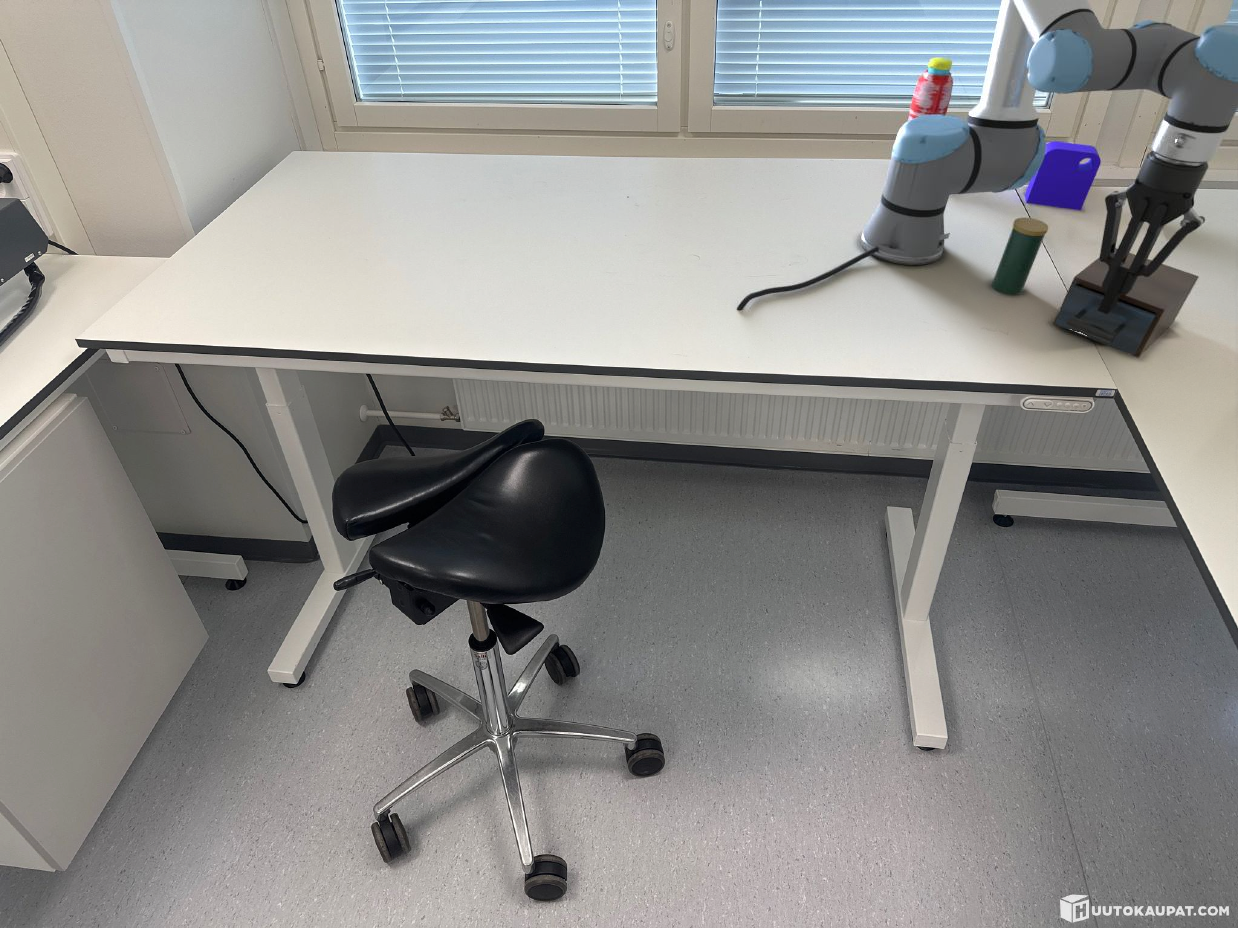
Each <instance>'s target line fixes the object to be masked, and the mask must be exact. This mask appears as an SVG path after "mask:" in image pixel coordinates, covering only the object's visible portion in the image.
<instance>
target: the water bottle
mask: <svg viewBox="0 0 1238 928" xmlns="http://www.w3.org/2000/svg"><path fill="white" fill-rule="evenodd" d="M952 66H953V61H952V60H951V59H948V58H945V57H933V58H930V60H929V62H928V63H927V67H928V69H925V70H924V72H923V73H922V74H921V75H920V77H918V79H917V82H916V85H915V88H914V91H913V95H912V100H911V103H910V108H909V113H908V114H909V115H908V120H907V122H908V121H909V120H911V119H914V118H916V117H920V116H925V115H937V114H940V115H942V116H946V115H947V112H948V110H949V109H948V108H949V106H950V102H951V98H952V93H953V87H954V79H953V76H952V72H950V71H951V69H952Z"/></svg>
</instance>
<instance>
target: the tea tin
mask: <svg viewBox="0 0 1238 928" xmlns="http://www.w3.org/2000/svg"><path fill="white" fill-rule="evenodd" d="M1048 231H1049V225H1048V224H1047V223H1046V222H1045V221H1042V220H1040V219H1037V218H1032V217H1017V218H1015V219H1014V221H1013V223H1012V229H1011V231H1010V234H1009V237H1008V239H1007V242H1006V244H1005V247H1004V250H1003V253H1002V256H1001V258H1000V261H999V262H998V266H997V269H996V272H995V273H994V277H993V279H992V283H991V287H992V289H994V290H995V291H996V292H998V293H1000V294H1003V295H1009V296H1015V295H1020V294H1021V293H1022V292H1023V290H1024V287H1025V285H1026V282H1027V280H1028V278H1029V275H1030V273H1031V271H1032V268H1033V265H1034V263H1035V260H1036V257H1037V255H1038V253H1039V250H1040V248H1041V245H1042V243H1043V241H1044V238H1045V235H1046V234H1047V233H1048Z"/></svg>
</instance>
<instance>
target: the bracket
mask: <svg viewBox="0 0 1238 928" xmlns="http://www.w3.org/2000/svg"><path fill="white" fill-rule="evenodd" d="M1086 159H1089V160H1088V161H1086V162H1084V163H1081V162H1082V161H1083V160H1086ZM1101 163H1102V160H1101V156H1100V154H1099V152H1098V150H1097V148H1096V147H1095V146H1093V145H1090V144H1081V143H1073V142H1064V141H1055V140H1054V141H1049V142H1048V143H1047V142H1046V152H1045V156H1044V159H1043V162H1042V164H1041V166H1040V168H1039V170H1038V171H1037V173H1036V174H1035V176H1034V177H1033V178H1032V179H1031V180H1030V181H1029V182H1028V184H1027V187H1026V191H1025V193H1024V200H1025V203H1026V204H1030V205H1038V206H1045V207H1053V208H1058V209H1059V208H1060V209H1067V210H1073V211H1082V209H1083V206H1084V204H1085V201H1086V200H1087V197H1088V195H1089V192H1090V190H1091V187H1092V186H1093V183H1094V180H1095V178H1096V177H1097V174H1098V171H1099V169H1100V166H1101Z"/></svg>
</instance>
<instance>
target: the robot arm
mask: <svg viewBox="0 0 1238 928" xmlns="http://www.w3.org/2000/svg"><path fill="white" fill-rule="evenodd" d="M983 81H984V82H983V86H982V90H981V96H980V100H979V102H978V103H977V104H976V105H975V106H974V107H972V108H971V109H969V110H968V114H967V119H966V120H965V119H963V118H961V117H959V116H956V115H950V114H949V115H948V114H946V115H945V116H942V115H940V114H937V115H925V116H920V117H916V118H914V119H911V120H909V121H908V120H907V121H906V122H905V123H903V124H902V126H901V127H900V128H899V130H898V132H897V135H896V138H895V141H894V143H893V146H892V148H891V157H890V161H889V165H888V167H887V168H888V169H887V173H886V176H885V181H884V185H883V189H882V193H881V197H880V200H879V204H878V205H877V207H876V209H875V210H874V212H873V213H872V215H871V217H870V219H869V220H868V222H867V224H866V225H865V226H864V228H863V230H862V234H861V238H860V245H861V247H862V248H863V249H864V250H865V252H862V253H861V254H859V255H857V256H855V257H853V258H851V259H849V260H848V261H845V262H844V263H842V264H839V265H838V266H836V267H834V268H832V269H830V270H828V271H826V272H824V273H822V274H820V275H817V276H815V277H813V278H810V279H808V280H805V281H802V282H799V283H796V284H792V285H784V286H776V287H770V288H769V287H768V288H763V289H761V290H757V291H754V292H750V293H749V294H747V295H746V296H745V297H744V298H743V299H742V300H741V302H740V303H739V304H738V305H737V308H736V311H740V312H741V311H743V310H744V308H745V307H746V306H747V304H748V303H750V301H751V300H753V299H756V298H759V297H763V296H767V295H771V294H776V293H786V292H792V291H797V290H801V289H804V288H807V287H810V286H813V285H815V284H817V283H820V282H821V281H823V280H827V279H828V278H830V277H832V276H834V275H836V274H839V273H840V272H842V271H843V270H846V269H847V268H849V267H851V266H853V265H854V264H856V263H858V262H860V261H862V260H864V259H865V258H868V257H870V256H873V257H875V258H877V259H879V260H883V261H885V262H889V263H893V264H897V265H898V264H899V265H905V266H922V265H927V264H931V263H935V262H936V261H938V260H939V259H940V258H941V257H942V254H943V251H944V248H945V240H947V239H949V237H950V234H951V233H950V232H948V233H947V232H946V233H945V217H944V216H945V210H946V207H947V204H948V201H949V199H950V196H951V195H964V194H965V195H966V194H980V193H981V194H982V193H993V194H999V193H1003V192H1005V191H1013V190H1017V189H1019V188H1022V187H1024V186H1025V185H1026V184H1027V183H1029V182H1030V180H1031V179H1032V178H1033V177H1034V176H1035V174H1036V173H1037V171H1038V170H1039V168H1040V166H1041V164H1042V162H1043V159H1044V156H1045V152H1046V144H1047V140H1046V139H1045V138H1046V132H1045V130H1044V128H1043V127H1042V126H1041V125H1040V124H1038V123H1039V119H1040V114H1039V112H1038V111H1037V109H1036V108H1035V106H1034V100H1035V96H1036V92H1037V91H1038V92H1041V93H1047V94H1048V93H1051V94H1059V95H1060V94H1061V95H1063V94H1064V95H1067V94H1073V93H1088V92H1089V93H1090V92H1102V91H1103V92H1107V91H1108V92H1110V91H1111V92H1112V91H1115V92H1116V91H1134V90H1147V91H1151V92H1153V93H1155V94H1158V95H1160V96H1162V97H1164V98H1167V99H1169V100H1171V101H1170V102H1169V104H1168V105H1169V106H1168V108H1167V110H1166V112H1165V114H1164V116H1163V118H1162V121H1161V123H1160V125H1159V127H1158V129H1157V132H1156V134H1155V136H1154V139H1153V140H1152V143H1151V145H1150V148H1151V151H1149V152H1148V153H1147V154H1146V156H1145V157H1144V160H1143V163H1142V164H1141V167H1140V169H1139V171H1138V174H1137V175H1136V178H1135V180H1134V181H1133V182H1132V184H1130V185H1129V186H1128V187H1127V188H1126V189H1125V190H1121V191H1118V190H1114V191H1112V192H1111V193H1109V194H1108V195H1106V196H1105V198H1104V204H1105V208H1106V217H1105V221H1104V228H1103V233H1102V234H1103V235H1102V240H1101V246H1100V250H1099V257H1098V258H1099V260H1100V261H1101V262H1105V263H1106V264H1107V265H1108V266H1109V270H1108V272H1107V274H1106V276H1105V279H1104V281H1103V283H1102V288H1105V289H1107V291H1106V294H1105V296H1104V298H1103V300H1102V302H1101V304H1100V306H1099V308H1098V310H1097V311H1100V312H1103V313H1105V314H1108V313H1109V312H1110V311H1111V310H1113V309H1114V307H1115V305H1116V303H1117V301H1118V299H1119V297H1120V295H1121V294H1122V295H1126V294H1127V293H1128V292H1130V291H1131V290H1132V288H1133V286H1134V283H1135V281H1136V279H1137V277H1138V276H1144V277H1149V276H1150V275H1152V274H1153V273H1154V272H1155V271H1156V270H1157V269H1158V268H1159V267H1160V266H1161V264H1164V262H1166V260H1167V259H1168V258H1169V257H1170V255H1171V254H1172V253H1173V252H1175V250H1176V248H1177V247H1179V245H1180V244H1181V243H1182V242H1183V240H1184V239H1185V238H1186V237H1187V236H1188V235H1189V234H1190V233H1193V232H1194V231H1196V230H1197V229H1199V228H1200V227H1201V226H1202V225H1203V224H1205V221H1206V218H1205V216H1203V215H1198V213H1197V212H1196V211H1195V209H1194V206H1195V195H1196V193H1197V191H1198V188H1199V187H1200V185H1201V183H1202V181H1203V180H1204V177H1205V175H1206V173H1207V171H1208V169H1209V163H1208V162H1210V161H1212V160H1214V157H1215V155H1216V153H1218V150H1219V148H1220V146H1221V144H1222V143H1223V140H1224V139H1225V136H1226V134H1227V132H1228V129H1229V127H1230V125H1231V122H1232V120H1233V119H1234V116H1235V114H1236V113H1237V111H1238V25H1233V24H1232V25H1231V24H1215V25H1210V26H1208V27H1207V28H1205V29H1204V30H1203V32H1202V33H1201V34H1200V35H1198V34H1195V33H1192V32H1190V31H1187V30H1183V29H1181V28H1178V27H1177V26H1175V25H1172V23H1169V22H1166V21H1165V22H1159V21H1156V20H1142V21H1139V22H1137V23H1135V24H1134V25H1131V26H1130V27H1128V28H1104V27H1102V25H1101V22H1100V20H1099V19H1098V17H1097V15H1096V14H1095V12H1094V10H1093V8H1092V6H1091V4H1090V2H1089V0H1001V3H1000V7H999V13H998V16H997V21H996V25H995V31H994V35H993V39H992V44H991V49H990V54H989V59H988V63H987V67H986V72H985V76H984V80H983ZM1126 203H1127V204H1128V208H1129V211H1130V215H1131V217H1130V219H1129V222H1128V224H1127V228H1126V230H1125V232H1124V233H1123V236H1122V239H1121V240H1120V243H1119V245H1118V246H1117V242H1118V235H1119V230H1120V224H1121V220H1122V219H1121V218H1122V213H1123V207H1124V206H1125V205H1126ZM1182 216H1183V219H1181V220H1180V222H1179V225H1180V227H1181V228H1179V229H1178V230H1177V231H1175V233H1174V234H1173V235H1172V236H1171V237H1170V239H1169V240H1167V242H1166V243H1165V244H1164V245H1163V247H1162V248H1161V249H1160V250H1159V252H1158V253H1157V254H1156V255H1155V256H1154V257H1153V258H1152V259H1151V260H1152V261H1151V262H1150V263H1149V264H1148V265H1145V263H1146V261H1147V259H1149V257H1150V254H1151V253H1152V250H1153V248H1154V246H1155V245H1156V243H1157V240H1158V238H1159V236H1160V234H1161V232H1162V231H1163V229H1164V227H1166V225H1168V224H1169V223H1171V222H1173V221H1175V220H1177V219H1179V218H1180V217H1182ZM1145 223H1147V224H1149V225H1148V227H1147V229H1146V233H1145V234H1144V237H1143V239H1142V240H1141V244H1140V245H1139V247H1138V249H1137V252H1136V254H1135V255H1136V256H1135V258H1134V260H1133V262H1132V264H1131V266H1130V268H1129V269H1128V268H1125V267H1122V265H1123V264H1124V263H1125V262H1126V258H1127V256H1128V254H1129V253H1131V250H1132V248H1133V246H1134V244H1135V242H1136V241H1137V238H1138V236H1139V234H1140V232H1141V229H1142V228H1143V225H1144V224H1145ZM1116 246H1117V247H1116ZM1115 248H1117V251H1116V253H1115ZM1114 253H1115V254H1114Z"/></svg>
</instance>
